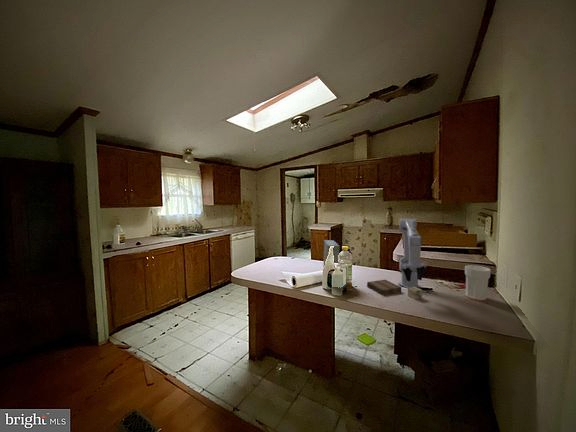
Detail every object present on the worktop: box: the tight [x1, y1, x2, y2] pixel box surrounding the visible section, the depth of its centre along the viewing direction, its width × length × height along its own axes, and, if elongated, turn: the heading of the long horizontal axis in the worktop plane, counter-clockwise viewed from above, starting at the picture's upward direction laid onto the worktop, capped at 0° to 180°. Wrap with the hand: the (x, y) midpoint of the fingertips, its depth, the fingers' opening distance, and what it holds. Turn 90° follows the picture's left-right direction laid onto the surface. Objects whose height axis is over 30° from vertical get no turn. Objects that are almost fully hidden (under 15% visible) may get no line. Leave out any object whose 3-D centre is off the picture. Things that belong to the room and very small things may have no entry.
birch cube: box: [407, 287, 423, 300], centre depth 133 cm, size 5×5×5 cm
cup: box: [464, 264, 492, 302], centre depth 131 cm, size 11×11×17 cm
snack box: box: [322, 239, 340, 268], centre depth 166 cm, size 22×9×26 cm, turn 179°
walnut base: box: [366, 279, 402, 296], centre depth 145 cm, size 14×14×3 cm
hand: (413, 280), depth 132 cm, fingers open, 7 cm apart
